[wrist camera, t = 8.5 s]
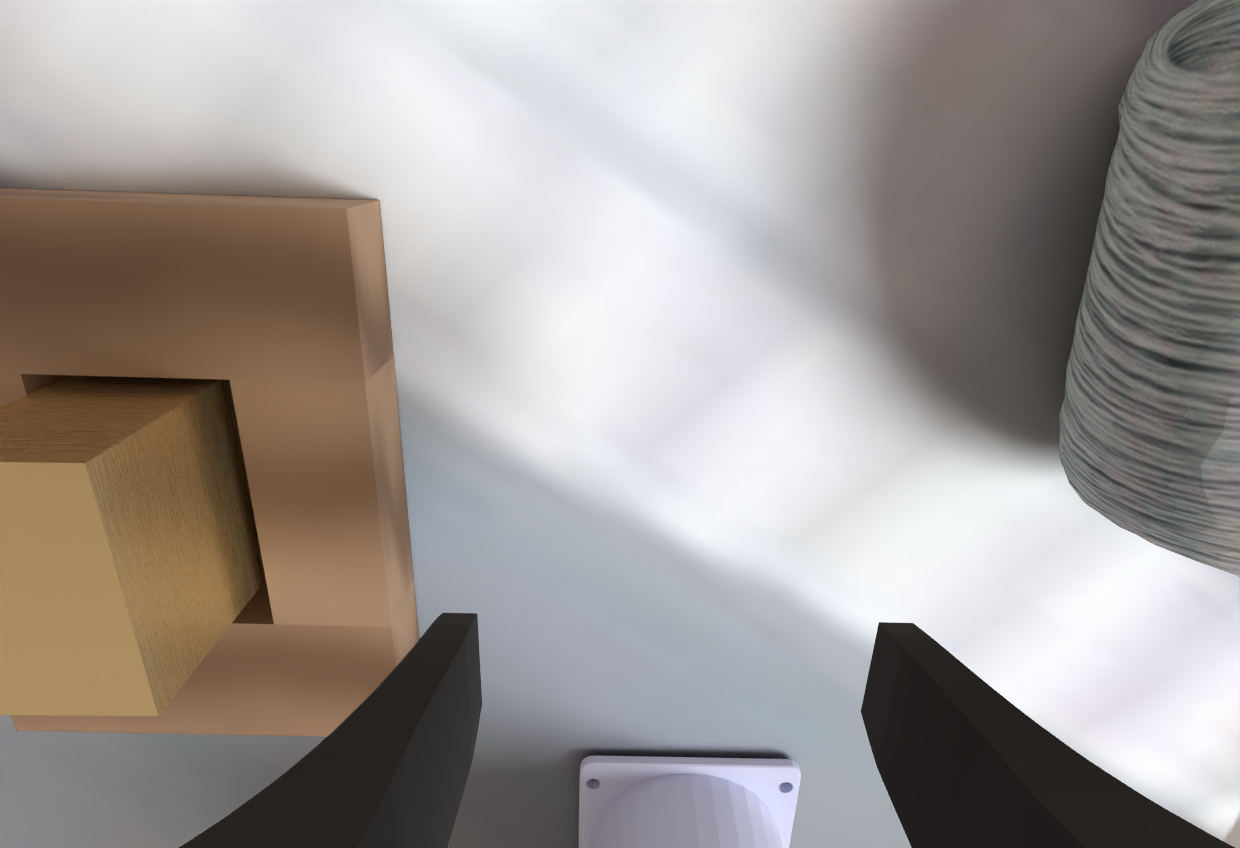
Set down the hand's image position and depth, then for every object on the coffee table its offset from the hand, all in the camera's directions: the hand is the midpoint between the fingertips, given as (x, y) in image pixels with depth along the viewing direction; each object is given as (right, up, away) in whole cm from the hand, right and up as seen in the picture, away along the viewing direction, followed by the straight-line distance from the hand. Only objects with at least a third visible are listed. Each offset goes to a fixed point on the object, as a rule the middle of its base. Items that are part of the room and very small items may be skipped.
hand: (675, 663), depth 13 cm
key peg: (-14, +3, +9) cm, 17 cm away
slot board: (-14, +3, +9) cm, 16 cm away
